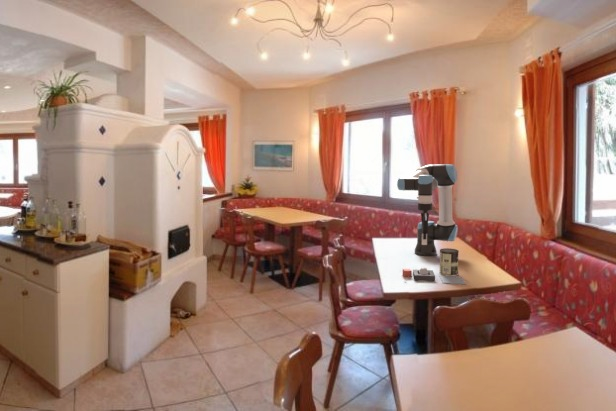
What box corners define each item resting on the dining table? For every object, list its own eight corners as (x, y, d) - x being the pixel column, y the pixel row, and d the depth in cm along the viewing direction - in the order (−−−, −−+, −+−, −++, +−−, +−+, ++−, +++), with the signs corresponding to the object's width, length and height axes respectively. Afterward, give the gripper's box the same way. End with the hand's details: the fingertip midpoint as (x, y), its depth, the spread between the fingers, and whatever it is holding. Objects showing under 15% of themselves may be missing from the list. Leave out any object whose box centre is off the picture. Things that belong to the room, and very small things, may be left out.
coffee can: (456, 271, 212) (456, 248, 211) (459, 276, 202) (460, 252, 201) (437, 270, 214) (438, 247, 213) (440, 275, 204) (441, 252, 203)
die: (402, 275, 207) (402, 268, 206) (409, 275, 207) (409, 268, 206) (404, 277, 203) (404, 270, 202) (411, 277, 203) (411, 270, 202)
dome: (418, 273, 204) (418, 266, 204) (427, 274, 203) (428, 266, 203) (419, 276, 199) (419, 268, 199) (428, 277, 198) (429, 269, 198)
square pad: (439, 276, 203) (439, 275, 203) (461, 277, 201) (461, 276, 201) (442, 283, 192) (442, 282, 192) (466, 284, 189) (466, 283, 189)
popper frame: (412, 274, 208) (412, 269, 208) (432, 275, 206) (432, 270, 205) (414, 280, 197) (414, 275, 197) (435, 281, 195) (435, 276, 195)
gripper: (416, 201, 204) (416, 241, 207) (419, 204, 191) (418, 247, 194) (430, 201, 202) (429, 242, 205) (433, 204, 190) (432, 247, 192)
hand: (424, 244), depth 199 cm, fingers closed
